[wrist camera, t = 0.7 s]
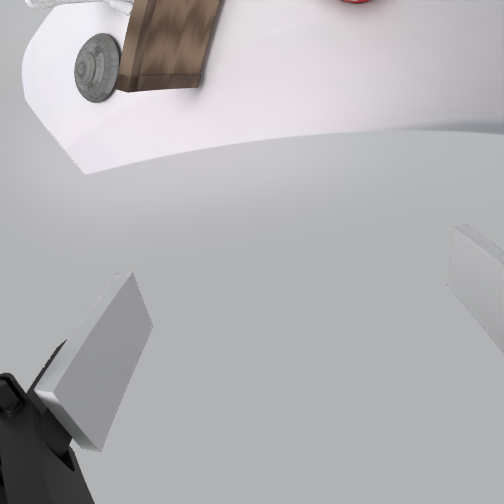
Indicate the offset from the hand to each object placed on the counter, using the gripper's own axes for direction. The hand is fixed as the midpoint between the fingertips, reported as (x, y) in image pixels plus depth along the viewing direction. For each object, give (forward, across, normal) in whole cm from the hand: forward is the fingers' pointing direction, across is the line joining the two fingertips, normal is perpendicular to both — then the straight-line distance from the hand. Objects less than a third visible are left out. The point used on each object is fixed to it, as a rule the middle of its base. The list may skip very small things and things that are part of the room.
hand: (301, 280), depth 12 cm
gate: (+35, -6, +21) cm, 42 cm away
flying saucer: (+50, -30, +24) cm, 63 cm away
